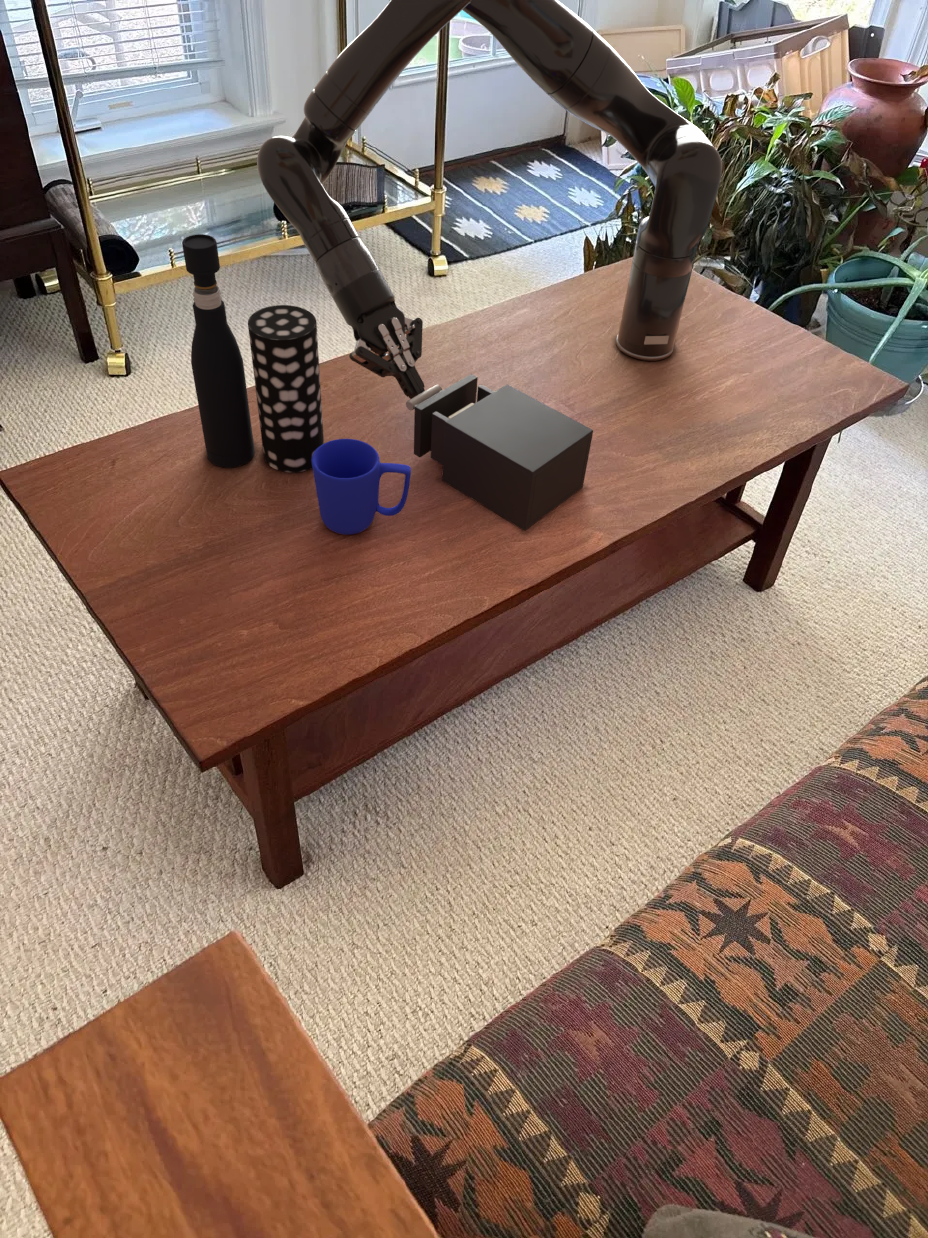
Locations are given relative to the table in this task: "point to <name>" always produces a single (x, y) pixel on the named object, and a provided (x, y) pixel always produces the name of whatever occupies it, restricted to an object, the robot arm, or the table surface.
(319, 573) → the table surface
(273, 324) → the spotted tube
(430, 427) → the drawer
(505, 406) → the cabinet
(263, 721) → the table surface
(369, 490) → the mug
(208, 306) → the black bottle
